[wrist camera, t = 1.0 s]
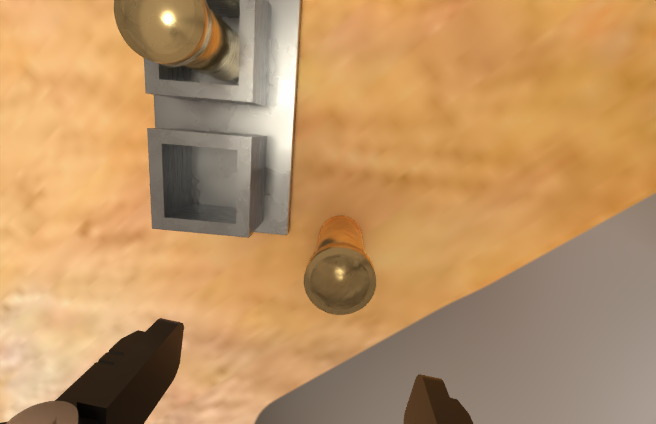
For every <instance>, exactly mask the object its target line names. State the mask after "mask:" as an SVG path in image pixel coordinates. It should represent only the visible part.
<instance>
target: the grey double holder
mask: <svg viewBox="0 0 656 424" xmlns="http://www.w3.org/2000/svg"><path fill="white" fill-rule="evenodd" d="M301 9H302V0H114V14H115V19H116V23H117V26H118V29H119V31H120V33H121V35H122V37H123V38H124V40H125V41H126V43H127V44H128V45H129V46H130V47H131V48H132V49H133V50H134V51H135V52H136V53H137V54H139V55H140V56H142V57H144V68H145V89H146V93H147V94H153V95H154V110H155V128H147V131H148V152H149V173H150V194H151V215H152V229H162V230H173V231H184V232H194V233H205V234H216V235H227V236H237V237H248V238H249V237H250V236H251V235H252V233H253V232H259V233H270V234H280V235H287V234H288V232H289V221H290V204H291V186H292V168H293V151H294V133H295V115H296V98H297V80H298V62H299V45H300V27H301Z"/></svg>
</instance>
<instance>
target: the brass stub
mask: <svg viewBox="0 0 656 424" xmlns="http://www.w3.org/2000/svg"><path fill="white" fill-rule="evenodd" d="M304 287H305V291H306V293H307V296H308V297H309V299H310V300H311V301H312V303H313V304H314V305H315V306H317V307H318V308H319V309H321V310H323V311H325V312H327V313H331V314H336V315H345V314H350V313H353V312H356V311H358V310H360V309H361V308H363V307H364V306H365V305H366V304H367V303H368V302H369V301H370V299H371V298H372V296H373V294H374V291H375V287H376V277H375V272H374V268H373V264H372V262H371V260H370V258H369V257H368V255H367V254H366V253H365V249H364V244H363V238H362V233H361V229H360V227H359V225H358V224H357V223H356V222H355V221H354V220H353V219H351V218H349V217H346V216H335V217H332V218H330V219H329V220H327V221H326V222H325V223H324V225H323V226H322V228H321V231H320V236H319V240H318V245H317V249H316V252H315V253H314V254H313V255H312V256H311V258H310V260H309V262H308V264H307V268H306V272H305V276H304Z"/></svg>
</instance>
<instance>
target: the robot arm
mask: <svg viewBox="0 0 656 424" xmlns="http://www.w3.org/2000/svg"><path fill="white" fill-rule="evenodd" d="M183 330H184V325H183V323H180V322H176V321H171V320H166V319H162V318H160V319H158V320H157V321H156V322H155V323H154V324H153V325H152V326H151V327H150V328H149V329H148V330H147V331H146V332H143V331H136V332H134V333H132V334H130V335H128V336H126V337H124V338H122V339H121V340H119V341H118V342H117V343H116V344H115V345H114V346H113V347H112V348H111V349H110V350H109V352H108V353H106V354H105V355H103V356H102V357H101V358H100V359H99V361H98V363H97V362H96V363H95V364H94V365H93V366H92V367H91V368H90V369H89V370H87V371H86V372H85V373H84V374H83V375H82V376H81V377H80V378H79V379H78V380H77V381H76V382H75V383H74V384H72V385H71V386H70V387H69V388H68V389H67V390H66V391H65V392H64V393H63V394H62V395H61V396H60V397H59V398H58V399H56V400H55V401H49V402H44V403H40V404H37V405H34V406H32V407H29V408H27V409H25V410H23V411H22V412H20V413H18V414H17V415H16V416H14V417H13V418H12V419H11V420H9V421H8V422H4V423H0V424H144V422H145V421H146V420H147V418H148V417H149V415H150V414H151V412H152V411H153V409H154V408H155V406H156V405H157V403H158V402H159V401H160V399H161V398H162V396H163V395H164V393H165V392H166V390H167V389H168V387H169V386H170V384H171V383H172V381H173V380H174V378H175V376H176V373H177V371H178V368H179V364H180V357H181V348H182V339H183ZM404 424H473V422H472V420H471V417H470V415H469V413H468V412H467V411H466V410H465V409H464V407H463V406H462V405H461V404H460V402H459V401H458V400H457V399H453V398H450V397H449V395H448V392H447V389H446V387H445V384H444V382H443V380H442V379H439V378H434V377H429V376H425V375H418V376H417V377H416V380H415V383H414V386H413V389H412V392H411V395H410V398H409V401H408V404H407V407H406V410H405V415H404Z"/></svg>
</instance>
